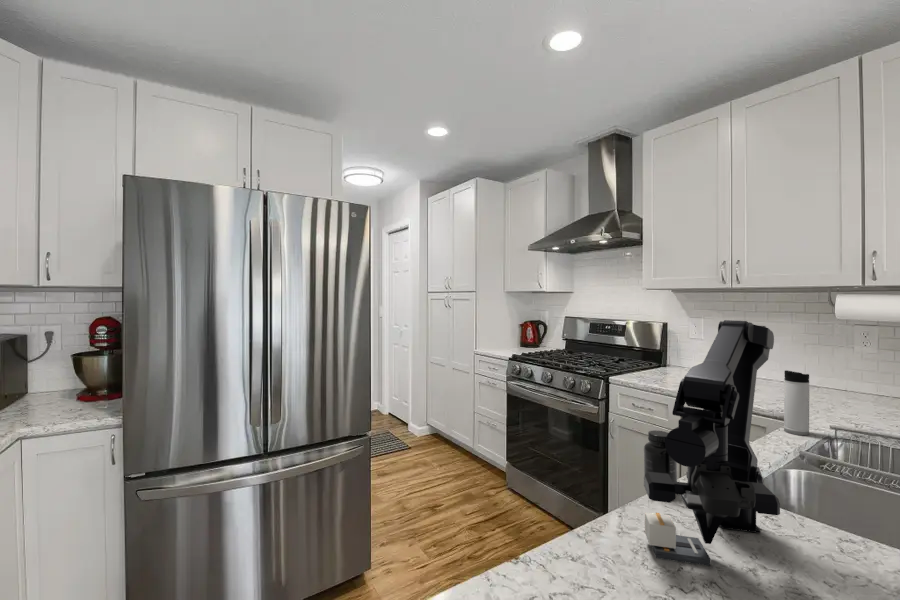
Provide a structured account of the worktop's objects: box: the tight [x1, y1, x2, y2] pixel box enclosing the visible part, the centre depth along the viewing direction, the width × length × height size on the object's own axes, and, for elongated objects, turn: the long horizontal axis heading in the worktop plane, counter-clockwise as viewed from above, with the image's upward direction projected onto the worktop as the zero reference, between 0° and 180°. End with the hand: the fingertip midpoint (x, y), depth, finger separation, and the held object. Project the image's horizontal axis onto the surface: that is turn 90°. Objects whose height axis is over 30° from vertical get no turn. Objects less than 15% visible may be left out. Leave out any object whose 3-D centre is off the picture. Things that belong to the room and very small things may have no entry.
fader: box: [644, 512, 677, 549], centre depth 72 cm, size 4×4×4 cm
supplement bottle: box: [643, 429, 678, 482], centre depth 96 cm, size 7×7×12 cm
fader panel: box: [650, 534, 711, 567], centre depth 71 cm, size 8×6×1 cm
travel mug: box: [783, 369, 810, 436], centre depth 135 cm, size 6×7×20 cm
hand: (707, 542), depth 70 cm, fingers closed
